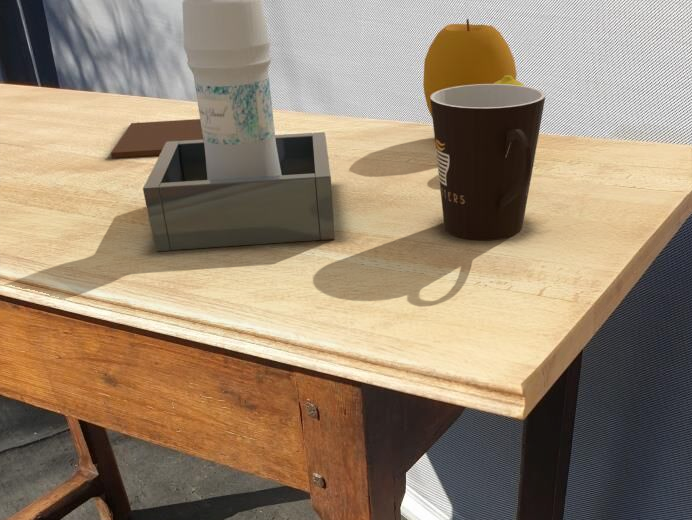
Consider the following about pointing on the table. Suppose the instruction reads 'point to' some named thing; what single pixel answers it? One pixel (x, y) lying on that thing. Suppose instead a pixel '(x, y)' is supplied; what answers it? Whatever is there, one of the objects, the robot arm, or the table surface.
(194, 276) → the table surface
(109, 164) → the table surface
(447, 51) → the apple
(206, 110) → the bottle
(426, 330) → the table surface
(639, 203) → the table surface
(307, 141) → the grey open box
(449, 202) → the coffee mug
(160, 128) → the mat
